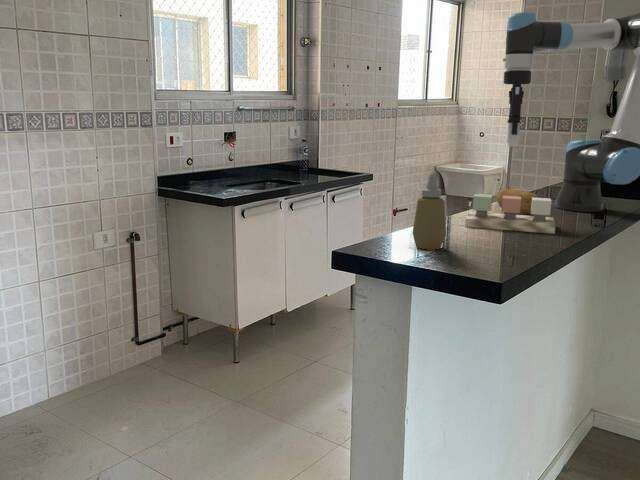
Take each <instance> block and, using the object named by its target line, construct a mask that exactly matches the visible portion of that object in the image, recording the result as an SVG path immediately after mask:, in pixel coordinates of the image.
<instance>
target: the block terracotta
mask: <svg viewBox="0 0 640 480" xmlns="http://www.w3.org/2000/svg"><path fill="white" fill-rule="evenodd" d="M520 206H521V197H517V196H503V200H502V208H501V213H504V214H505V219H516V213H520Z"/></svg>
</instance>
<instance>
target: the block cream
mask: <svg viewBox="0 0 640 480" xmlns="http://www.w3.org/2000/svg"><path fill="white" fill-rule="evenodd" d="M551 209H552V199H551V198H549V197H548V198H547V197H540V198H534V197H532V204H531V213H530V214H531V215H533V216H534V221H543V222H545V220H546V217H547V216H550V215H551Z"/></svg>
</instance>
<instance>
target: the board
mask: <svg viewBox="0 0 640 480" xmlns="http://www.w3.org/2000/svg"><path fill="white" fill-rule="evenodd" d="M464 225H465V227H466V228H475V229H476V228H477V229H478V228H479V229H489V230H490V229H491V230H503V231H513V230H514V232H515V231H516V232H528V233H540V234H542V233H543V234H553V235H555V233H556V222H555V219H554V217H553V216H552V217H551V216H546V220H545V222H543V221H534V215H516V219H505V213H497V212H496V213H495V212H487V217H476V211H468V213H467V215H466V217H465V224H464Z"/></svg>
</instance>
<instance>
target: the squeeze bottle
mask: <svg viewBox="0 0 640 480" xmlns="http://www.w3.org/2000/svg"><path fill="white" fill-rule="evenodd" d="M428 177H429V178H428V180H427V185H426V188H425V187H424V188H422V189H421V197H418V199H417V200H416V210H415V215H414V220H413V221H414V222H413V228H412V237H413V240H414V244H415V247H416V248H417V247H418V248H417V249H420V248H422V249H421V250H424V249H427V250H426V251H436V250H435V249H437V250H439V248H440V249H441V248H442V245H443V242H444V240H445V238H446V234H447V231H446V207H445V204H446V202H445V200H444V199H443V198H442V189H440V188H438V186H437V178H436V174H435V173H429V176H428Z"/></svg>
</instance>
